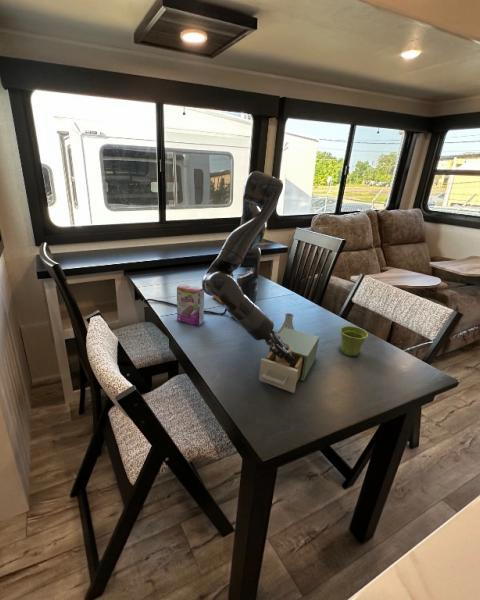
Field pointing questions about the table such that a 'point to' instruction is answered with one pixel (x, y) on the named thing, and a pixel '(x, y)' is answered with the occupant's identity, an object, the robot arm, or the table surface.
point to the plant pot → (352, 339)
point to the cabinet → (301, 347)
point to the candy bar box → (190, 304)
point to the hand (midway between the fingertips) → (289, 356)
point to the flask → (287, 322)
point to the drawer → (281, 372)
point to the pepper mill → (283, 361)
